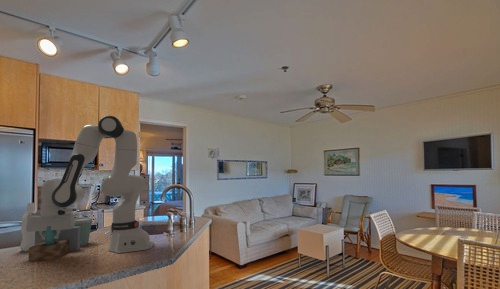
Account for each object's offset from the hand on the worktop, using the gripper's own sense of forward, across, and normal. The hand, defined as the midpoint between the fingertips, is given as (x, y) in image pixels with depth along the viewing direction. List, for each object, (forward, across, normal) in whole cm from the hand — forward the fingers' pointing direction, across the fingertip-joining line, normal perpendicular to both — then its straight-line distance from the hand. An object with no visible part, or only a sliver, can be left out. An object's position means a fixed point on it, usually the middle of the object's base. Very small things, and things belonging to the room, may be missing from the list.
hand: (50, 239), depth 133 cm
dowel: (+5, 0, 0) cm, 5 cm away
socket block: (+8, 0, 0) cm, 8 cm away
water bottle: (+8, -17, +15) cm, 24 cm away
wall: (+8, 0, +8) cm, 11 cm away
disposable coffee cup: (+8, +7, +19) cm, 22 cm away
